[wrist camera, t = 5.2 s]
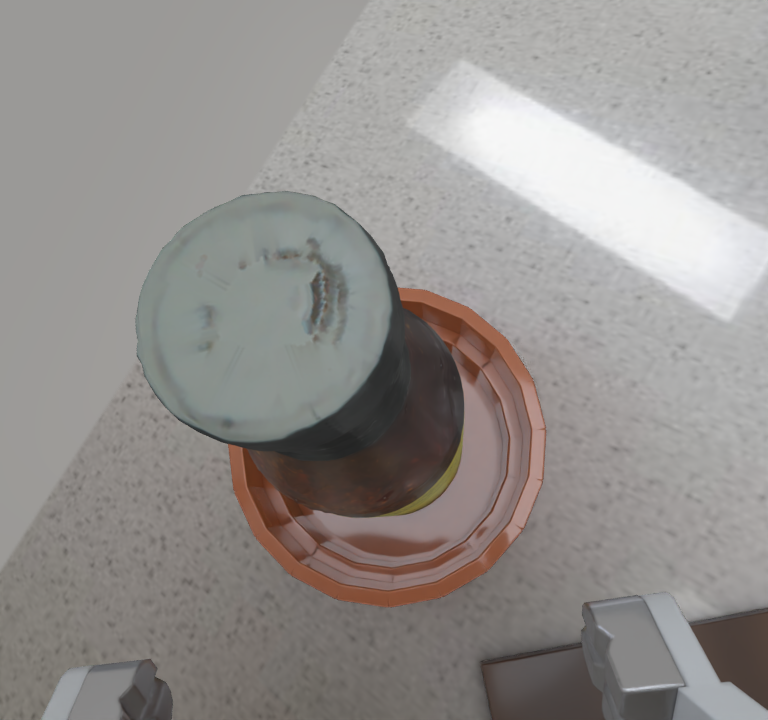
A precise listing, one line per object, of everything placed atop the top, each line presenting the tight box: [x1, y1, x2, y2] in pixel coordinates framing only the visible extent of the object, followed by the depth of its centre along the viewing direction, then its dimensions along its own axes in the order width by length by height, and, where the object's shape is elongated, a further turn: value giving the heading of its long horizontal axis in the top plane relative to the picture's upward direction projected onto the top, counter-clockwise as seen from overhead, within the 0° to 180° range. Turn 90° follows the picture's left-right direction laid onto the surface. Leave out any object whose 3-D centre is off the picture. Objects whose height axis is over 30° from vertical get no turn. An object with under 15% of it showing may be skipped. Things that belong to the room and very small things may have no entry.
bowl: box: [228, 288, 546, 607], centre depth 25 cm, size 13×13×5 cm
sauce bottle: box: [136, 191, 464, 518], centre depth 18 cm, size 6×6×20 cm
